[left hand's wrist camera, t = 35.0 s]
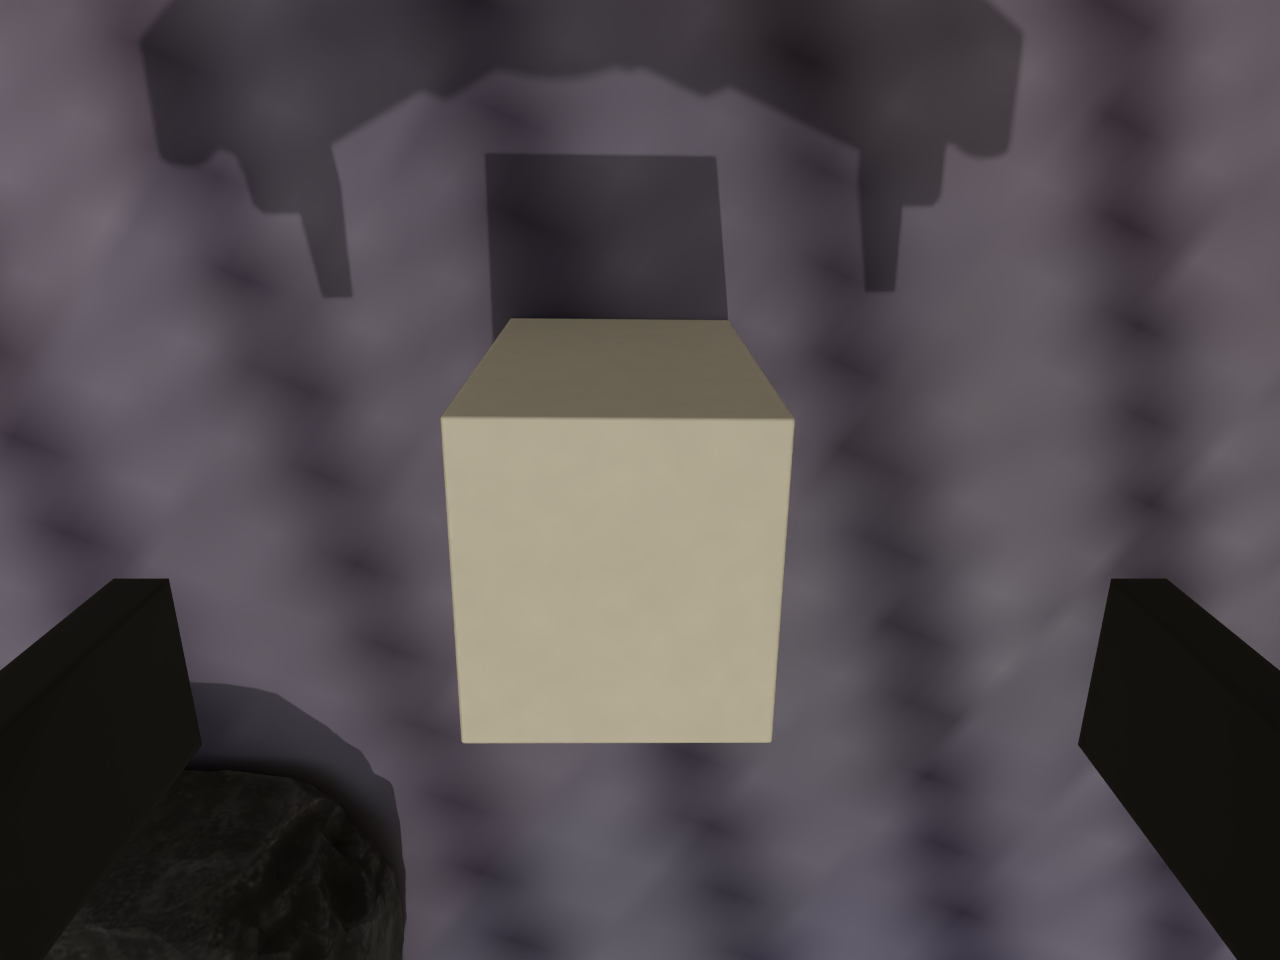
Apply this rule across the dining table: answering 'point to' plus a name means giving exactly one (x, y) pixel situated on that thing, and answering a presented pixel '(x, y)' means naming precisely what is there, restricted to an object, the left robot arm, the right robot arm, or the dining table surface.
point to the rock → (241, 880)
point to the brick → (617, 534)
